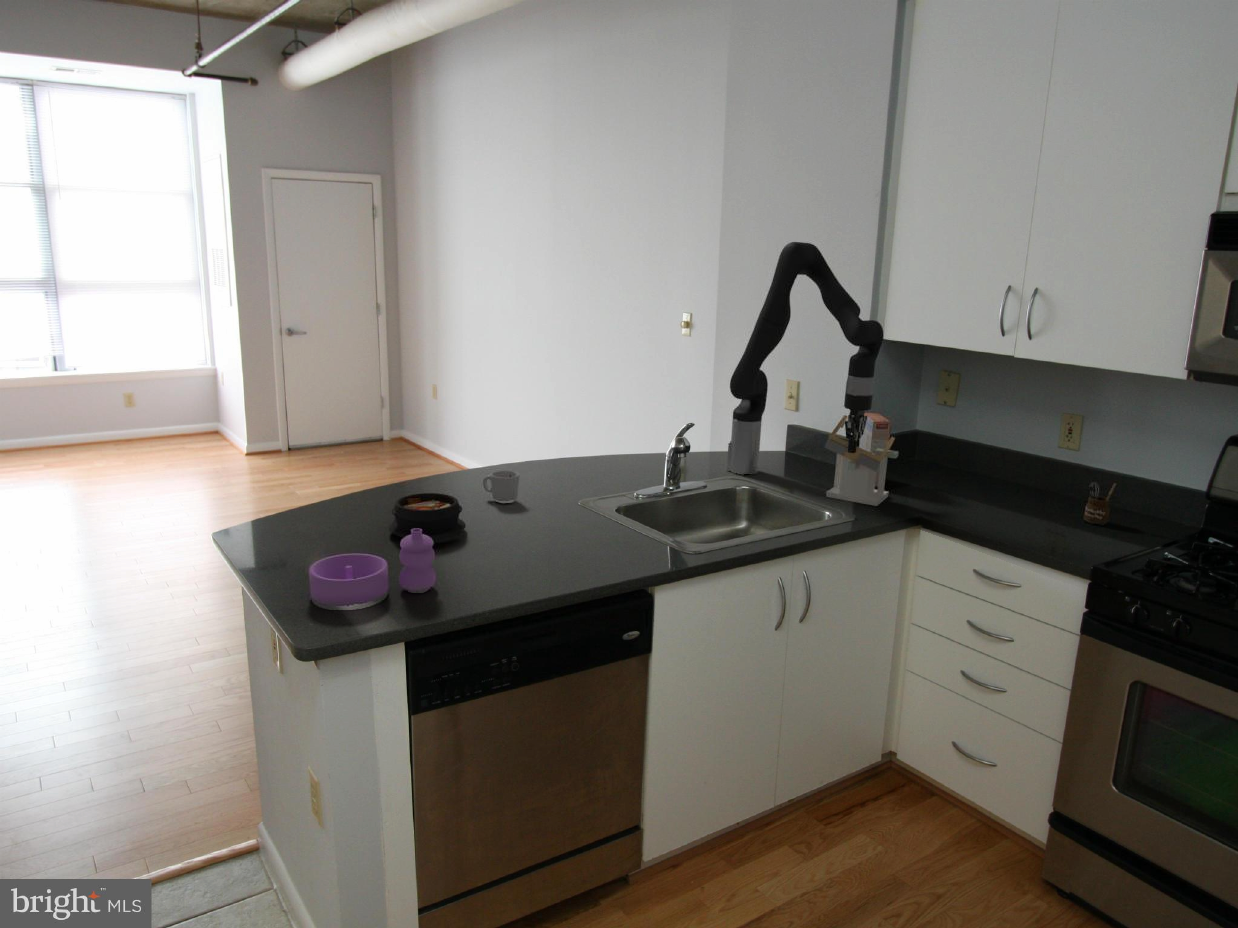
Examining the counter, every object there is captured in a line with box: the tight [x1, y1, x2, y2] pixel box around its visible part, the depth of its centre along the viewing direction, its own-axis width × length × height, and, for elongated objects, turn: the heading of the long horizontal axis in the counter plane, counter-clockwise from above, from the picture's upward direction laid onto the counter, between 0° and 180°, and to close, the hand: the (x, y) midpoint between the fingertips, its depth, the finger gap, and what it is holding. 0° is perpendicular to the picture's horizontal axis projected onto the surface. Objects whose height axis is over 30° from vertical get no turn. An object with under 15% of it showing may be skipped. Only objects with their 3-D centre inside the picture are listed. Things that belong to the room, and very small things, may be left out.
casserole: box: [388, 492, 467, 545], centre depth 220 cm, size 25×19×8 cm
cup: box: [482, 470, 521, 501], centre depth 248 cm, size 11×8×8 cm
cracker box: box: [859, 412, 892, 488], centre depth 279 cm, size 14×6×21 cm, turn 179°
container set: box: [308, 528, 437, 606], centre depth 182 cm, size 25×15×13 cm, turn 109°
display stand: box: [825, 448, 900, 507], centre depth 261 cm, size 20×15×15 cm
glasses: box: [824, 414, 896, 471], centre depth 259 cm, size 16×14×4 cm
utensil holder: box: [1083, 482, 1117, 524], centre depth 246 cm, size 6×6×12 cm
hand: (853, 451), depth 255 cm, fingers closed on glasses, 2 cm apart
